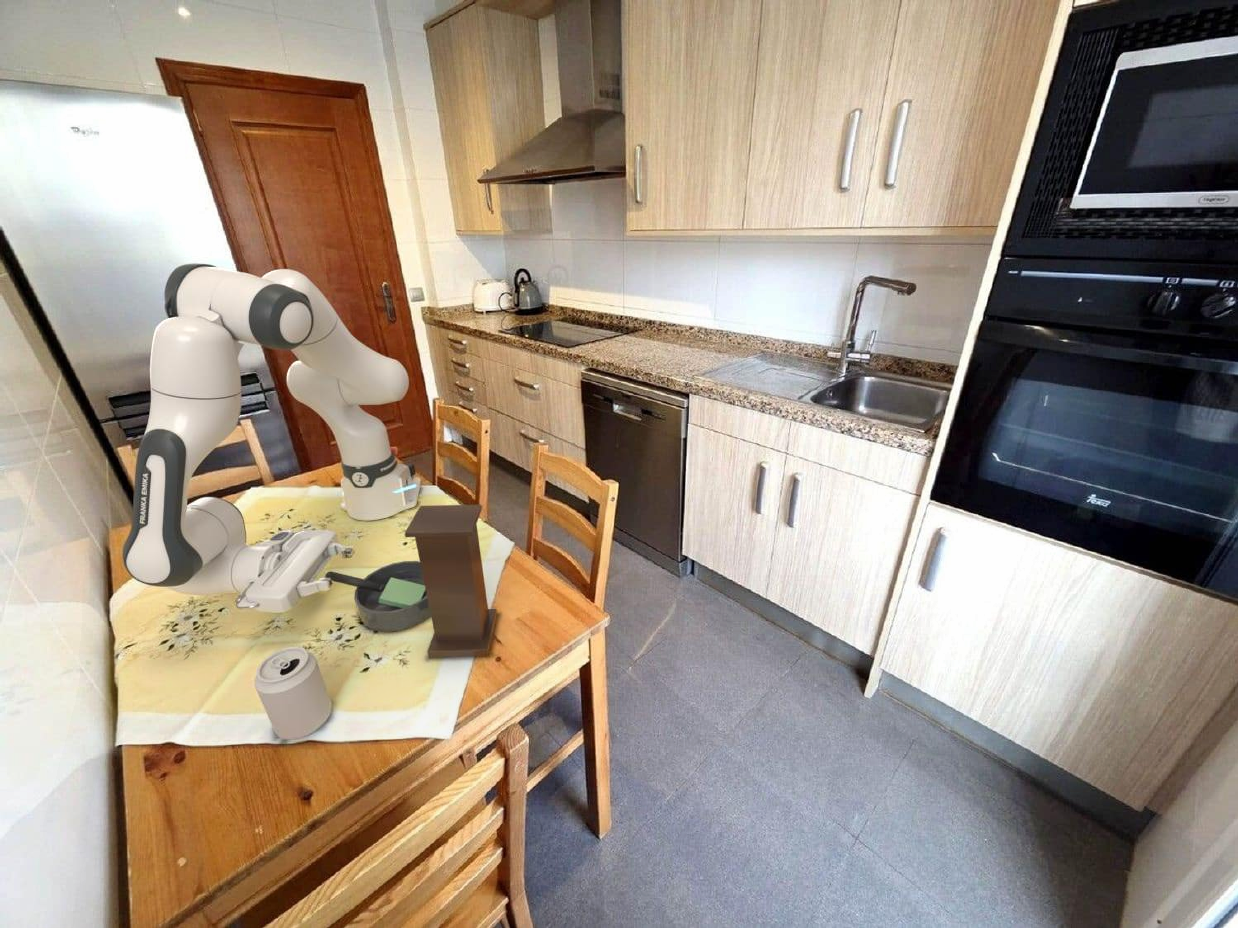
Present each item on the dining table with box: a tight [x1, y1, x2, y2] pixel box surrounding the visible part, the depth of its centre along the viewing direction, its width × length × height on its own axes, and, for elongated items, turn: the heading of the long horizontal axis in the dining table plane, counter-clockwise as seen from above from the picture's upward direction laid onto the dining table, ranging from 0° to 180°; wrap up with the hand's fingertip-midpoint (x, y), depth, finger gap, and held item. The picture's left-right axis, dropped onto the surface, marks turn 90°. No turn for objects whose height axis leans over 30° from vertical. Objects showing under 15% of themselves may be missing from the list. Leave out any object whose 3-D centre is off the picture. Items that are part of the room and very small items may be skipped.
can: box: [254, 646, 333, 740], centre depth 72 cm, size 8×8×12 cm
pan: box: [353, 560, 431, 633], centre depth 97 cm, size 15×15×4 cm
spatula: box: [324, 571, 426, 608], centre depth 95 cm, size 18×6×2 cm, turn 93°
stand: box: [404, 504, 498, 659], centre depth 85 cm, size 10×10×25 cm
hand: (342, 567), depth 93 cm, fingers open, 8 cm apart
